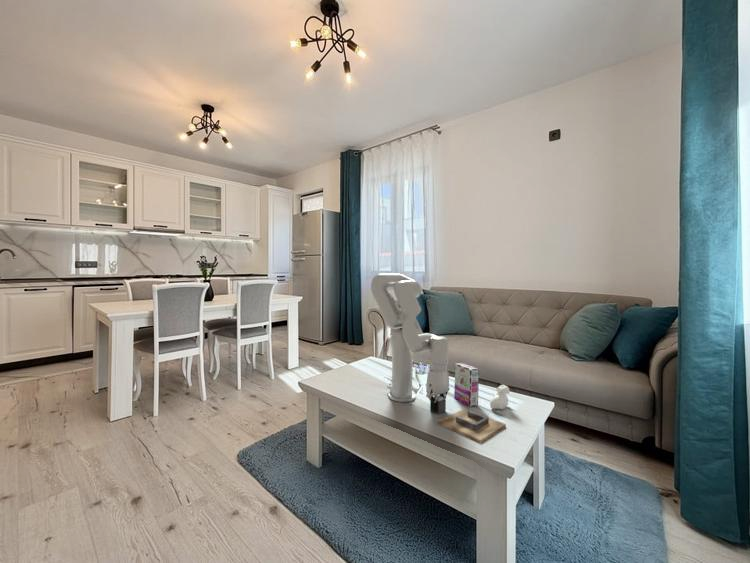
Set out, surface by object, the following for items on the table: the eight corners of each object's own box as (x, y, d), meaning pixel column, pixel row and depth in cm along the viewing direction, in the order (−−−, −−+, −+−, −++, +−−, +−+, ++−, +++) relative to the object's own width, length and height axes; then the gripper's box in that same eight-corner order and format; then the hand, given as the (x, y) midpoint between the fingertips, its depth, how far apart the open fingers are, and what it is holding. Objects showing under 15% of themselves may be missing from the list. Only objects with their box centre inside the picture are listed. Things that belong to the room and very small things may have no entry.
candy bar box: (478, 405, 138) (479, 368, 137) (469, 407, 136) (470, 369, 135) (462, 396, 148) (463, 362, 148) (453, 398, 146) (454, 363, 146)
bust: (494, 417, 132) (511, 400, 127) (480, 402, 136) (497, 385, 131) (505, 408, 140) (521, 393, 135) (492, 394, 144) (508, 379, 139)
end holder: (437, 423, 120) (438, 415, 120) (464, 410, 132) (464, 403, 132) (480, 442, 107) (480, 434, 107) (505, 426, 118) (505, 419, 118)
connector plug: (430, 410, 132) (430, 396, 131) (436, 407, 135) (437, 394, 134) (438, 414, 128) (439, 399, 128) (445, 411, 131) (445, 397, 131)
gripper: (443, 360, 139) (442, 401, 140) (418, 367, 128) (417, 411, 129) (458, 364, 134) (457, 407, 134) (433, 372, 123) (432, 418, 123)
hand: (437, 408), depth 131 cm, fingers closed on connector plug, 4 cm apart
